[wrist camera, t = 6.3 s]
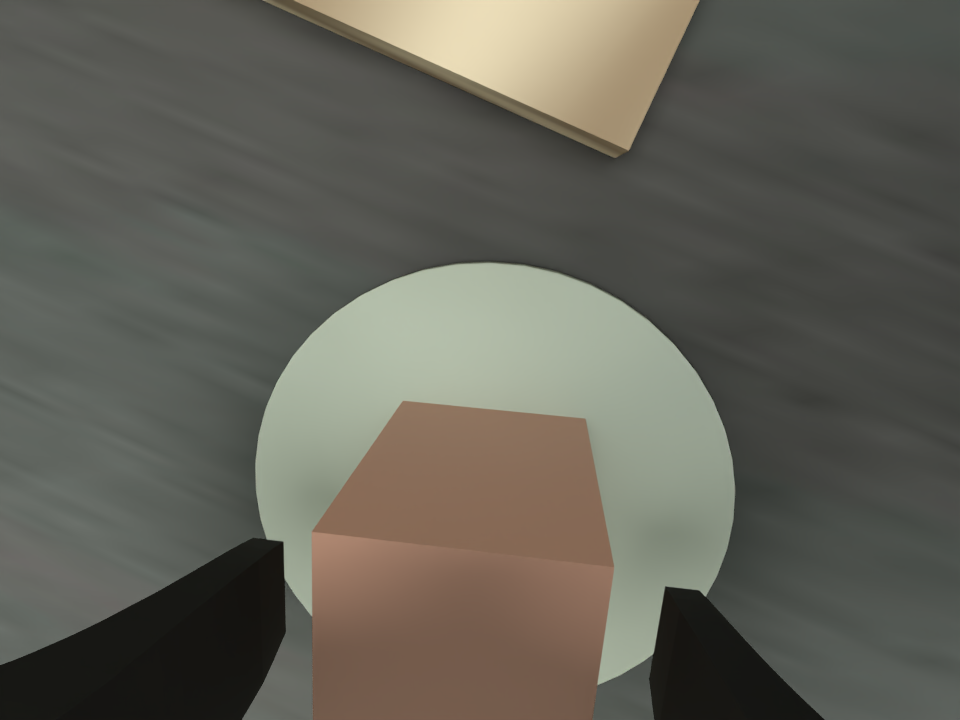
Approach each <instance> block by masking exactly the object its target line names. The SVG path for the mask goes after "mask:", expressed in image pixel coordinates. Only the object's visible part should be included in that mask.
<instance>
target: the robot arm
mask: <svg viewBox="0 0 960 720" xmlns="http://www.w3.org/2000/svg"><path fill="white" fill-rule="evenodd" d="M285 632H286V624H285V581H284V541H275V540H267V539H258V538H252V539H250V540H248V541H246V542H244V543H242V544H240V545H238V546H237V547H235V548H233V549H231V550H229V551H228V552H226V553H224V554H222V555H221V556H219V557H217V558H215V559H214V560H212V561H210V562H209V563H207V564H205V565H203V566H202V567H200V568H198V569H197V570H195V571H193V572H191V573H190V574H188V575H186V576H184V577H183V578H181V579H179V580H177V581H176V582H174V583H172V584H170V585H169V586H167V587H165V588H163V589H162V590H160V591H158V592H156V593H154V594H152V595H151V596H149V597H147V598H145V599H143V600H141V601H139V602H137V603H135V604H133V605H131V606H130V607H128V608H126V609H124V610H122V611H120V612H118V613H116V614H114V615H112V616H110V617H109V618H107V619H105V620H103V621H101V622H99V623H97V624H95V625H93V626H91V627H89V628H87V629H84V630H82V631H80V632H78V633H76V634H74V635H72V636H69V637H67V638H65V639H63V640H60V641H58V642H56V643H54V644H51V645H49V646H47V647H44V648H42V649H40V650H38V651H35V652H33V653H31V654H28V655H26V656H23V657H21V658H18V659H16V660H13V661H11V662H8V663H5V664H3V665H0V720H242V718H243V717H244V715H245V713H246V712H247V710H248V708H249V706H250V705H251V703H252V701H253V700H254V698H255V696H256V695H257V693H258V691H259V689H260V688H261V686H262V684H263V682H264V680H265V678H266V676H267V673H268V671H269V669H270V667H271V665H272V663H273V660H274V658H275V656H276V653H277V651H278V649H279V646H280V644H281V642H282V639H283V637H284V635H285ZM649 681H650V689H651V697H652V705H653V712H654V719H655V720H824V719H823V718H822V717H821V716H820V715H819V714H818V713H817V712H816V711H815V710H814V709H813V708H812V707H810V706H809V705H808V704H807V703H806V702H805V701H804V700H803V699H802V698H801V697H800V696H799V695H798V694H797V693H796V692H795V691H794V690H793V689H792V688H791V687H790V686H789V685H788V684H787V683H786V682H785V681H784V680H783V679H782V678H781V677H780V676H779V675H778V674H777V673H776V672H775V671H774V670H773V669H772V668H771V667H770V666H769V665H768V664H767V663H766V662H765V661H764V660H763V659H762V658H761V657H760V656H759V655H758V654H757V652H756V651H755V650H754V649H753V648H752V647H751V646H750V645H749V644H748V643H747V642H746V641H745V640H744V638H743V637H742V636H741V635H740V634H739V633H738V632H737V631H736V630H735V629H734V628H733V626H732V625H731V624H730V623H729V622H728V621H727V620H726V619H725V618H724V616H723V615H722V614H721V613H720V612H719V611H718V610H717V609H716V608H715V607H714V605H713V604H712V603H711V602H710V601H709V600H708V599H707V598H706V597H705V596H704V595H703V594H702V593H701V592H700V591H699V590H692V589H684V588H675V587H667V586H665V590H664V595H663V601H662V607H661V613H660V619H659V625H658V631H657V637H656V643H655V648H654V654H653V660H652V666H651V672H650V678H649Z"/></svg>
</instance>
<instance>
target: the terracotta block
mask: <svg viewBox="0 0 960 720" xmlns="http://www.w3.org/2000/svg"><path fill="white" fill-rule="evenodd" d="M613 573H614V563H613V558H612V553H611V547H610V542H609V537H608V532H607V527H606V522H605V516H604V511H603V506H602V501H601V496H600V491H599V486H598V480H597V475H596V470H595V465H594V460H593V455H592V449H591V444H590V439H589V434H588V429H587V424H586V419H584V418H574V417H564V416H554V415H544V414H533V413H523V412H513V411H503V410H493V409H482V408H472V407H462V406H452V405H442V404H432V403H421V402H411V401H402V403H401V404H400V405H399V407H398V408H397V410H396V411H395V413H394V414H393V416H392V417H391V418H390V420H389V421H388V423H387V424H386V426H385V427H384V428H383V430H382V431H381V433H380V434H379V436H378V437H377V439H376V440H375V441H374V443H373V444H372V446H371V447H370V449H369V450H368V451H367V453H366V454H365V456H364V457H363V459H362V460H361V462H360V463H359V464H358V466H357V467H356V469H355V470H354V472H353V473H352V474H351V476H350V477H349V479H348V480H347V482H346V483H345V485H344V486H343V487H342V489H341V490H340V492H339V493H338V495H337V496H336V497H335V499H334V500H333V502H332V503H331V505H330V506H329V508H328V509H327V510H326V512H325V513H324V515H323V516H322V518H321V519H320V520H319V522H318V523H317V525H316V526H315V528H314V529H313V531H312V654H313V720H592V718H593V711H594V705H595V698H596V691H597V684H598V677H599V670H600V663H601V656H602V649H603V642H604V635H605V629H606V622H607V615H608V608H609V601H610V594H611V587H612V580H613Z"/></svg>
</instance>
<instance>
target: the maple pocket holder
mask: <svg viewBox="0 0 960 720" xmlns="http://www.w3.org/2000/svg"><path fill="white" fill-rule="evenodd" d="M263 1H265V2H267V3H269V4H272V5H274V6H276V7H278V8H281V9H283V10H285V11H287V12H289V13H292V14H294V15H296V16H298V17H301V18H303V19H305V20H307V21H310V22H312V23H314V24H316V25H318V26H321V27H323V28H325V29H327V30H330V31H332V32H334V33H336V34H339V35H341V36H343V37H345V38H348V39H350V40H352V41H354V42H356V43H359V44H361V45H363V46H365V47H368V48H370V49H372V50H374V51H377V52H379V53H381V54H383V55H385V56H388V57H390V58H392V59H394V60H397V61H399V62H401V63H403V64H406V65H408V66H410V67H412V68H414V69H417V70H419V71H421V72H423V73H426V74H428V75H430V76H432V77H435V78H437V79H439V80H441V81H444V82H446V83H448V84H450V85H452V86H455V87H457V88H459V89H461V90H464V91H466V92H468V93H470V94H473V95H475V96H477V97H479V98H481V99H484V100H486V101H488V102H490V103H493V104H495V105H497V106H499V107H502V108H504V109H506V110H508V111H510V112H513V113H515V114H517V115H519V116H522V117H524V118H526V119H528V120H531V121H533V122H535V123H537V124H540V125H542V126H544V127H546V128H548V129H551V130H553V131H555V132H557V133H560V134H562V135H564V136H566V137H569V138H571V139H573V140H575V141H577V142H580V143H582V144H584V145H586V146H589V147H591V148H593V149H595V150H598V151H600V152H602V153H604V154H606V155H609V156H611V157H613V158H616V157H618V156H620V155H622V154H623V153H625V152H627V151H629V149H630V147H631V145H632V142H633V140H634V138H635V136H636V134H637V132H638V130H639V128H640V125H641V123H642V121H643V119H644V117H645V115H646V113H647V111H648V109H649V106H650V104H651V102H652V100H653V98H654V96H655V94H656V92H657V89H658V87H659V85H660V83H661V81H662V79H663V77H664V75H665V73H666V70H667V68H668V66H669V64H670V62H671V60H672V58H673V56H674V53H675V51H676V49H677V47H678V45H679V43H680V41H681V39H682V37H683V34H684V32H685V30H686V28H687V26H688V24H689V22H690V20H691V17H692V15H693V13H694V11H695V9H696V7H697V5H698V3H699V1H700V0H263Z"/></svg>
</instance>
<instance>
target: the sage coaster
mask: <svg viewBox="0 0 960 720" xmlns="http://www.w3.org/2000/svg"><path fill="white" fill-rule="evenodd" d="M402 401H411V402H421V403H432V404H442V405H452V406H462V407H472V408H482V409H493V410H503V411H513V412H523V413H533V414H544V415H554V416H564V417H574V418H584V419H586V424H587V429H588V434H589V439H590V444H591V449H592V455H593V460H594V465H595V470H596V475H597V480H598V486H599V491H600V496H601V501H602V506H603V511H604V516H605V522H606V527H607V532H608V537H609V542H610V547H611V553H612V558H613V563H614V573H613V580H612V587H611V594H610V601H609V608H608V615H607V622H606V629H605V635H604V642H603V649H602V656H601V663H600V670H599V677H598V684H597V685H599V684H601V683H603V682H606V681H608V680H610V679H613V678H615V677H617V676H619V675H621V674H623V673H625V672H626V671H628V670H630V669H631V668H633V667H635V666H636V665H638V664H640V663H641V662H643V661H645V660H646V659H647V658H649V657H650V656H651V655H652V654H654V648H655V643H656V637H657V631H658V625H659V619H660V613H661V607H662V601H663V595H664V590H665V586H667V587H675V588H684V589H692V590H699V591H700V592H701V593H702V594H703V595H704V596H705V597H706V595H707V593H708V591H709V590H710V588H711V586H712V584H713V582H714V580H715V579H716V577H717V575H718V572H719V569H720V567H721V564H722V561H723V559H724V556H725V553H726V551H727V548H728V543H729V538H730V533H731V529H732V524H733V518H734V501H735V483H734V472H733V461H732V456H731V452H730V448H729V444H728V440H727V436H726V432H725V429H724V426H723V424H722V421H721V419H720V416H719V414H718V411H717V409H716V407H715V404H714V402H713V400H712V398H711V396H710V394H709V393H708V391H707V389H706V388H705V386H704V384H703V383H702V381H701V379H700V378H699V376H698V374H697V372H696V371H695V370H694V369H693V367H692V366H691V365H690V364H689V362H688V361H687V360H686V359H685V357H684V356H683V355H682V354H681V352H680V351H679V350H678V349H677V347H676V346H675V345H674V344H673V343H672V342H671V341H670V340H669V339H668V338H667V337H666V336H665V335H664V334H663V333H662V332H661V331H660V330H659V329H658V328H657V327H656V326H654V325H653V324H652V323H651V322H650V321H649V320H648V319H647V318H646V317H644V316H643V315H642V314H640V313H639V312H637V311H636V310H635V309H633V308H632V307H630V306H629V305H628V304H626V303H625V302H623V301H622V300H621V299H619V298H617V297H615V296H613V295H611V294H610V293H608V292H606V291H604V290H602V289H600V288H598V287H596V286H594V285H593V284H591V283H588V282H586V281H583V280H580V279H577V278H575V277H572V276H569V275H566V274H564V273H561V272H558V271H554V270H550V269H545V268H541V267H536V266H532V265H527V264H519V263H508V262H496V261H483V262H460V263H454V264H448V265H442V266H437V267H431V268H426V269H423V270H420V271H417V272H414V273H411V274H408V275H404V276H401V277H398V278H396V279H393V280H391V281H389V282H387V283H385V284H383V285H381V286H379V287H377V288H375V289H373V290H371V291H369V292H367V293H365V294H363V295H361V296H359V297H358V298H357V299H355V300H354V301H352V302H351V303H349V304H348V305H346V306H345V307H343V308H342V309H340V310H339V311H337V312H336V313H334V314H333V315H332V316H331V317H330V318H329V319H328V320H326V321H325V322H324V323H323V324H322V325H321V326H320V327H319V328H318V329H316V330H315V331H314V332H313V333H312V334H311V335H310V336H309V338H308V339H307V340H306V341H305V342H304V344H303V345H302V346H301V347H300V348H299V350H298V351H297V352H296V353H295V354H294V356H293V357H292V358H291V360H290V362H289V363H288V365H287V367H286V368H285V370H284V371H283V373H282V375H281V376H280V378H279V380H278V381H277V383H276V386H275V388H274V390H273V393H272V395H271V397H270V400H269V402H268V404H267V407H266V410H265V413H264V417H263V421H262V425H261V428H260V432H259V436H258V445H257V454H256V462H255V469H256V494H257V500H258V506H259V513H260V519H261V522H262V525H263V529H264V532H265V535H266V538H267V540H275V541H284V578H285V580H286V581H287V583H288V584H289V586H290V588H291V589H292V591H293V593H294V594H295V595H296V597H297V598H298V599H299V601H300V602H301V603H302V604H303V606H304V607H305V608H306V610H307V611H308V612H309V613H310V615H311V616H312V531H313V529H314V528H315V526H316V525H317V523H318V522H319V520H320V519H321V518H322V516H323V515H324V513H325V512H326V510H327V509H328V508H329V506H330V505H331V503H332V502H333V500H334V499H335V497H336V496H337V495H338V493H339V492H340V490H341V489H342V487H343V486H344V485H345V483H346V482H347V480H348V479H349V477H350V476H351V474H352V473H353V472H354V470H355V469H356V467H357V466H358V464H359V463H360V462H361V460H362V459H363V457H364V456H365V454H366V453H367V451H368V450H369V449H370V447H371V446H372V444H373V443H374V441H375V440H376V439H377V437H378V436H379V434H380V433H381V431H382V430H383V428H384V427H385V426H386V424H387V423H388V421H389V420H390V418H391V417H392V416H393V414H394V413H395V411H396V410H397V408H398V407H399V405H400V404H401V403H402Z"/></svg>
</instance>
